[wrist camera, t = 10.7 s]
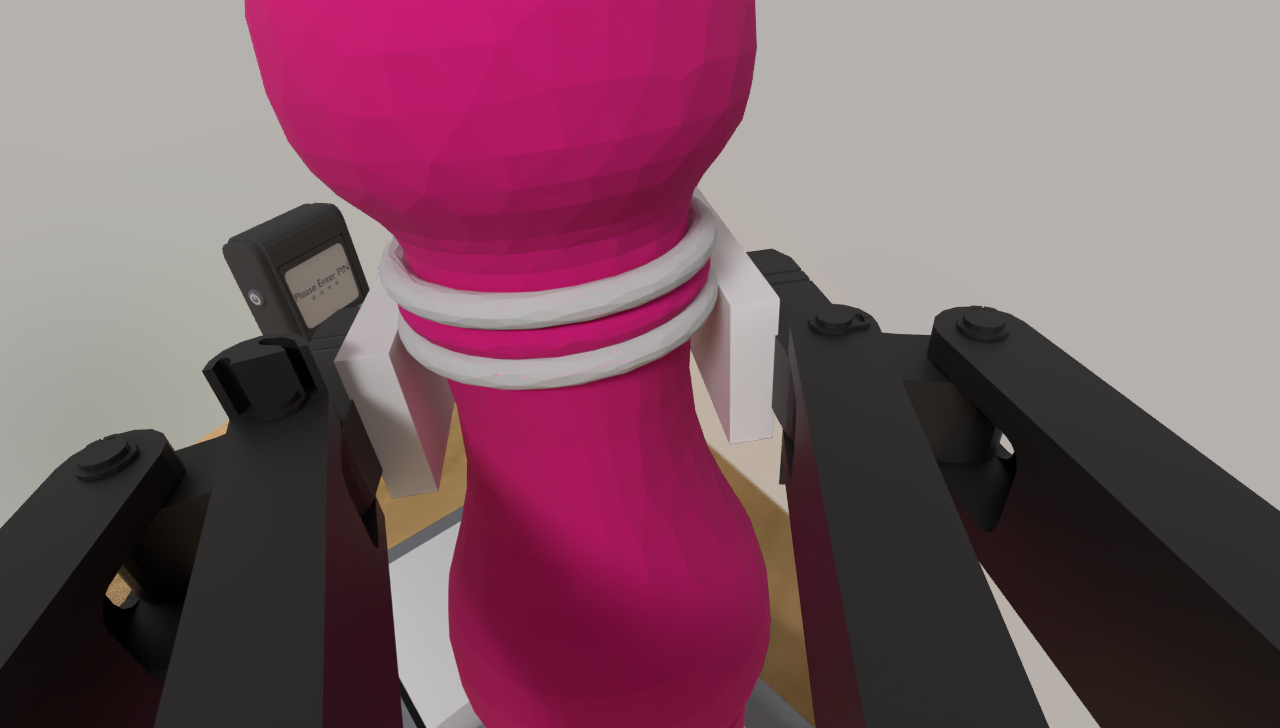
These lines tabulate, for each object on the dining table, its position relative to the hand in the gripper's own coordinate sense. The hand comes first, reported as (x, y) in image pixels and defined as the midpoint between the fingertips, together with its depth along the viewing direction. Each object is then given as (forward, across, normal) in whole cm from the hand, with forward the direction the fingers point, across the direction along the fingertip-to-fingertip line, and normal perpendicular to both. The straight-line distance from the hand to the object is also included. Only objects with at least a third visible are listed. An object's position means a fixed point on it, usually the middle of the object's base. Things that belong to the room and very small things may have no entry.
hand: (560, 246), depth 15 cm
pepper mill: (-5, 0, -11) cm, 12 cm away
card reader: (+35, -22, -24) cm, 47 cm away
